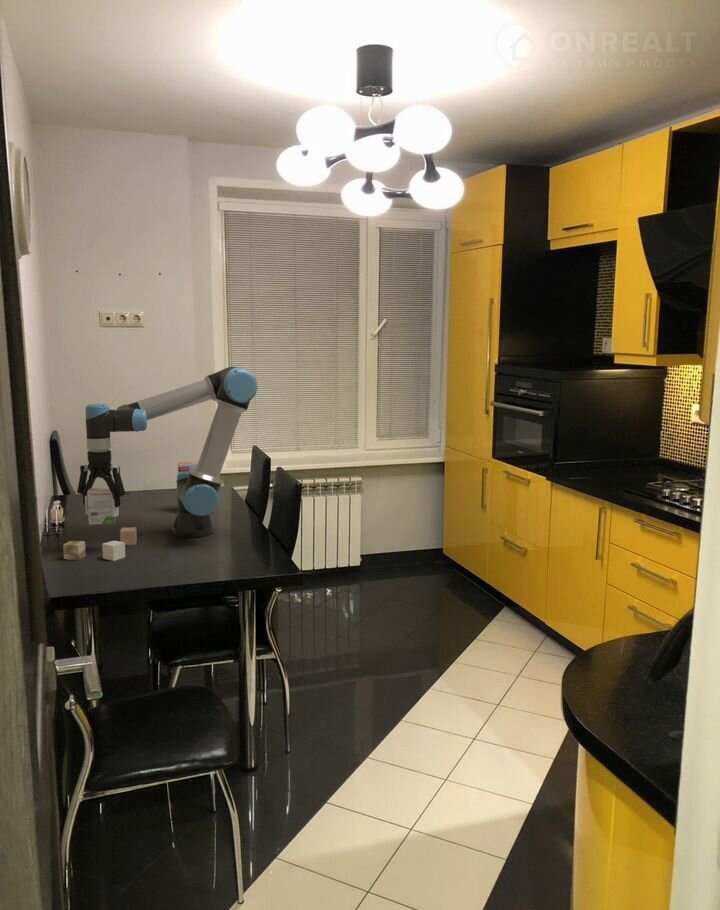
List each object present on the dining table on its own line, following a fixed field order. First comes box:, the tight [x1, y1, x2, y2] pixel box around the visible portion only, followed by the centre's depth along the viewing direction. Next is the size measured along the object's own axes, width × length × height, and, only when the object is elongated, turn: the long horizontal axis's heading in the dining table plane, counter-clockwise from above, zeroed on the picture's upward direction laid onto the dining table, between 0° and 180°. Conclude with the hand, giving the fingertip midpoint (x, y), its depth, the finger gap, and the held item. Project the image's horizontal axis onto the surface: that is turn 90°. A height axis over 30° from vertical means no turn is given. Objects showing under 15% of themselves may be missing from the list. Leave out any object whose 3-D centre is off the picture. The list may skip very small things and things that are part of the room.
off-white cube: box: [101, 540, 126, 562], centre depth 242 cm, size 5×5×5 cm
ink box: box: [87, 487, 117, 525], centre depth 249 cm, size 8×5×12 cm, turn 105°
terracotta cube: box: [119, 526, 138, 546], centre depth 260 cm, size 5×5×5 cm
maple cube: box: [62, 540, 87, 561], centre depth 241 cm, size 5×5×5 cm
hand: (102, 515), depth 250 cm, fingers closed on ink box, 9 cm apart
